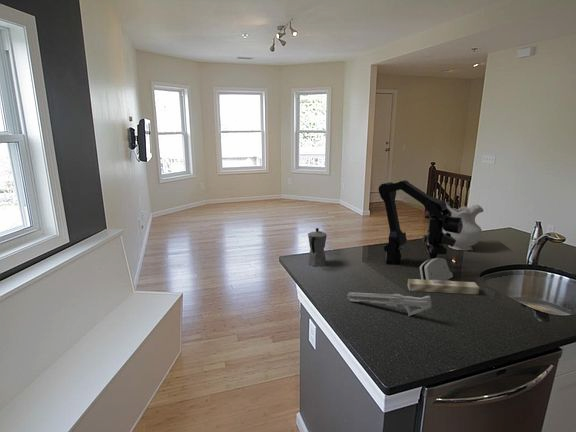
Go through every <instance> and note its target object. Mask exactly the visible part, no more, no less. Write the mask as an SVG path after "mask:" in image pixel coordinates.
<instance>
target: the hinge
mask: <svg viewBox="0 0 576 432" xmlns="http://www.w3.org/2000/svg"><path fill="white" fill-rule="evenodd" d="M419 273H420V279H421V280H448V281H449V280H450V279H452V278H454V275H453V272H452V271H450V268H449V265H448V261H447V260H446V258H441V257H436V258H433V259H430V258H429V259H427V260H425V261H424V262H423V263H421V265H420V266H419Z"/></svg>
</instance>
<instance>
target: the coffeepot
mask: <svg viewBox="0 0 576 432" xmlns="http://www.w3.org/2000/svg"><path fill="white" fill-rule="evenodd" d="M307 236H308V244H309V248H310V249H309V252H308V253H309V254H308V258H307V260H308V261H307V262H308V265H309V266H311V265H312V266H311V267H315V266H320V267H324V266H325V265H327V260H326V254H325V248H326V243H327V236H328V235H327V233H326V232H324V231H320V228H319V227H315V231H311V232H307ZM323 265H324V266H323Z"/></svg>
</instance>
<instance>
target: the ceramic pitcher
mask: <svg viewBox="0 0 576 432" xmlns="http://www.w3.org/2000/svg"><path fill="white" fill-rule="evenodd" d="M444 202H445V203H446V206H447V209H448V211H449V212H450V214H451V217H461V218H462V219H461V220H462V224H463V228H462V231H461V233H460V234H457V233H452V232H447V231H445V230H443V233H444V234H445V233H450V234H451V237H453V238H454V239H455V240H456V242H455V244H454V246H453V247H451V246H450V245H447V246H448V248H450V249H452V250H456V251H457V250H458V251H466V252H469V251H468V250H471V251H474V249H473V247H472V246H475V245H476V244H478V242H480V240H481V239H482V236H483V230H482V228H481V226H480V225H478V224H477V222H476V217H477V215H479V214H480V213H484V209H483V207H482V206H480V205H479V204H473V205H472V206H470V207H468V206H465V205H463V206H460V207H458V209H457V208H455V207H452V206H451V205H450V202H449V201H448V202H447V201H444ZM442 215H443V213H442Z"/></svg>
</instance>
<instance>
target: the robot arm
mask: <svg viewBox="0 0 576 432" xmlns="http://www.w3.org/2000/svg"><path fill="white" fill-rule="evenodd" d="M400 190H401V191H403V192H404V193H405V194H407V195H409V196H410V197H412V198H413V199H414V200H416V201H417V202H419V203H420V204H421V205H423V207H424V208H425V210H426V211H428V214H427V215H425V216H424V219H428V220H429V221H428V229H427V234H425V235H424V236H422V241H423V243H426V242H427V244H425V245H424V246H425V248H426V251H427V253H428V257H429V260H430V259H433V258H438V255H447V252H448V249H447V248H446V246H444V244H445V245H447V246H448V245H450V246H451V247H453V246H454V244H455V242H456V240H455V239H454V238H453V237H451V234H450V233H445V234H444V233H443V230H445V231H447V232H452V233H457V234H460V233H461V231H462V228H463V224H462V220H461V219H462V218H461V217H452V213H451V212H450V211H449V210H448V209H447V206H446V203H445V202H446V201H444V200H442V199H439V198H438V197H433V196H431V195H429V194H427V193H426V192H424V191H423V190H421V189H420V188H418V187H416V186H415V185H413V184H412V183H410V182H409V181H408V180H407V179H406V180H405V179H404V180H400V181H398V182H392V181H389V182H384V183H381V184H380V185H379V187H378V193H379V196H380V198H381V199H382V201H383V202H384V207H385V212H386V217H387V222H388V228H389V235H388V243H387V244H386V245H385V246H383V250H384V252H385V259H384V260H385V264H386V265H398V266H399V265H401V263H402V253H401V250H402V249H403V248H404V247H405V245H406V244H407V241H408V238H407V234H406V231H405V232H403V231H402V230H401V227H400V221H399V216H398V210H397V205H396V197H397V191H400ZM442 213H443V215H442Z"/></svg>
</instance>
